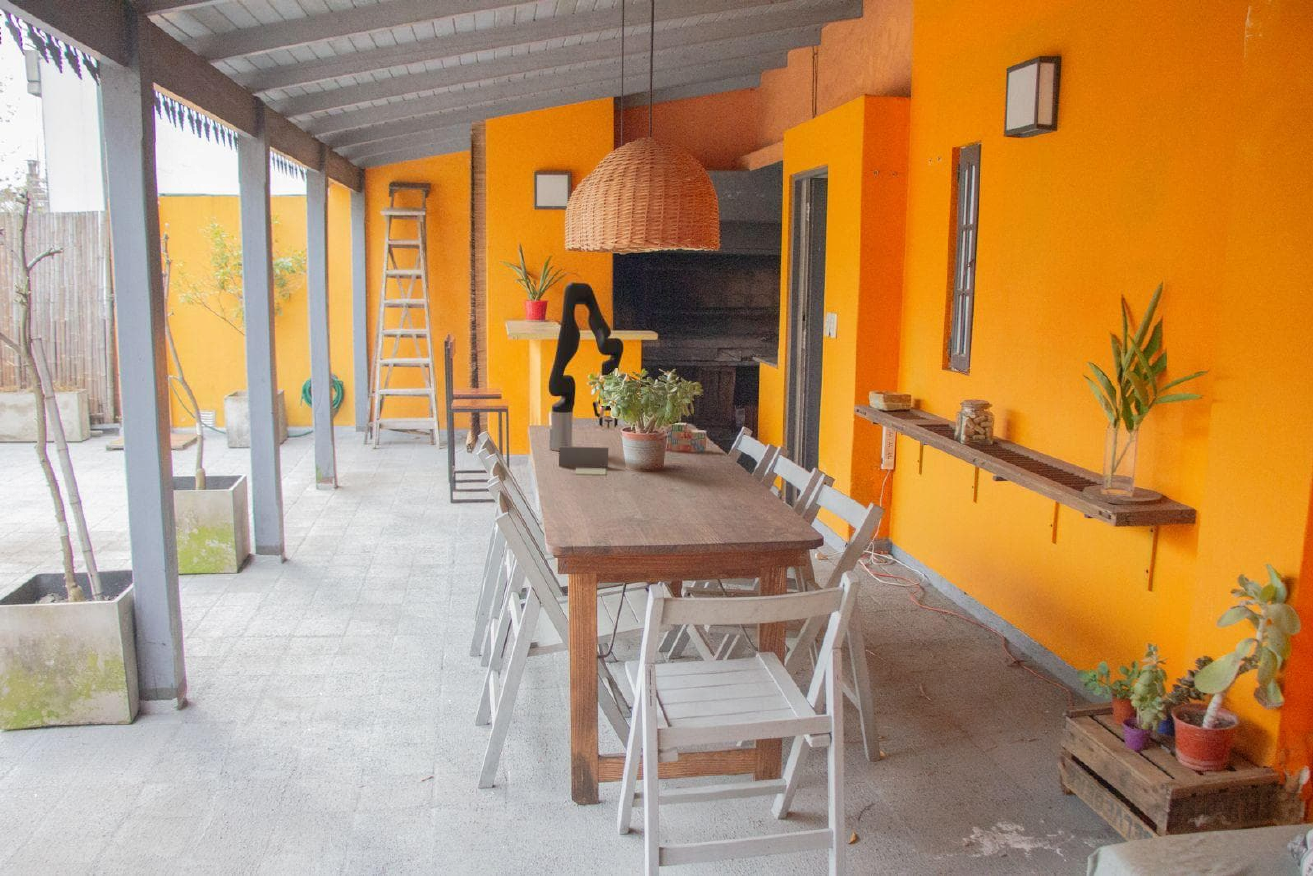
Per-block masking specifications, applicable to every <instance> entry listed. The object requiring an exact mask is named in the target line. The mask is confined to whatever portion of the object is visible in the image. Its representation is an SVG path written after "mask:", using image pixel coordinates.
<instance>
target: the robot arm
mask: <svg viewBox="0 0 1313 876" xmlns="http://www.w3.org/2000/svg"><path fill="white" fill-rule="evenodd" d="M563 293H564V294H563V304H562V306H563V307H562V314H561V322H560V329H559V333H558V338H557V345H556V350H555V357H554V361H553V365H552V369H551V373H550V377H549V380H548V391H549V394H550V396H553V397H561V398H560V399H559V400H558V401H557V402H555V403H554V404H552V406H551V427H550V428H549V450H552V451H555V452H559V446H569V447H573V430H574V428H573V425H574V421H573V420H574V415H573V414H574V407H575V401H576V381H575V378H574V377H573V375H570V374H565V370H566V368H567V367H568V365H569V363H570V362H571V360H572V359H573V358H574V357H575V355H576V354H577V352H578V350H579V346H580V342H581V331H580V328H579V326H578V323H577V321H576V316H575V315H576V314H575V312H576V311H575V309H576V305H582V306H583V305H584V306H585V307H586V308H587V310H588V319H587V320H588V326H589V328H590V331H591V333H593V335H594V338H595V342H596V345H597V346H596V347H597V350H598V352H599V353H600V354H601V355H603V356H610V357H609V359H608V360H605V361H603V362H602V363H601V375H600V377H601V376H604V375H608V374H610V373H611V372H613V371H614V369H615V368H618V370H619V367H620V362H621V360H622V356H623V354H624V353H623V352H624V342H623V341H622V339H621V338H618V337H611V335H612V330H611V328H610V327H609V325H608V323H607V321H606V320H605V318H604V316H603V314H602V312H601V309H600V306H599V303H598V301H597V298H596V295H595V292H594V290H593V288H592V286H591V285H590V284H588V283H586V282H569V283H567V285H566V286H565V289H564V292H563ZM599 405H600V399H599V400H598V401H593V402H592V408H593V412H594V415H595V417H597V418H598V419H599V420H598V425H599V426H600V427H601V428H602V420H603V416H604V413H605V412H606V411H607V412H608V411H609V412H612V411H611V408H610V406H601V405H600V407H601V410H600V413H598V409H597V408H598V407H599ZM618 421H619V418H618V419H616V418H615V423H614V428H616V427H618V425H619V424H618Z"/></svg>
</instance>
